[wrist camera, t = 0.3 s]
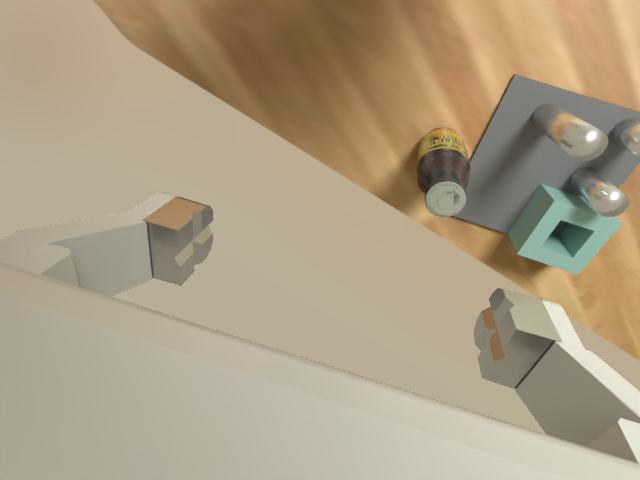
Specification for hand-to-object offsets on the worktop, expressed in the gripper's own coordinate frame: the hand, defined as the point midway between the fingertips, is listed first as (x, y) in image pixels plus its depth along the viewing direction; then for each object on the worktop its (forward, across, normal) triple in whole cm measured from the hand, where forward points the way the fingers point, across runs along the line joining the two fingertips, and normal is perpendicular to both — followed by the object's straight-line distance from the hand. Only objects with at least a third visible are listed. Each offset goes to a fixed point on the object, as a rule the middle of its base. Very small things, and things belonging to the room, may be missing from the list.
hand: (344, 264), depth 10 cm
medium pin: (+46, -28, +7) cm, 54 cm away
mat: (+46, -24, +8) cm, 53 cm away
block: (+46, -28, +14) cm, 56 cm away
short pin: (+46, -30, 0) cm, 55 cm away
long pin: (+46, -20, +1) cm, 50 cm away
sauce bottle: (+46, -8, +8) cm, 48 cm away
